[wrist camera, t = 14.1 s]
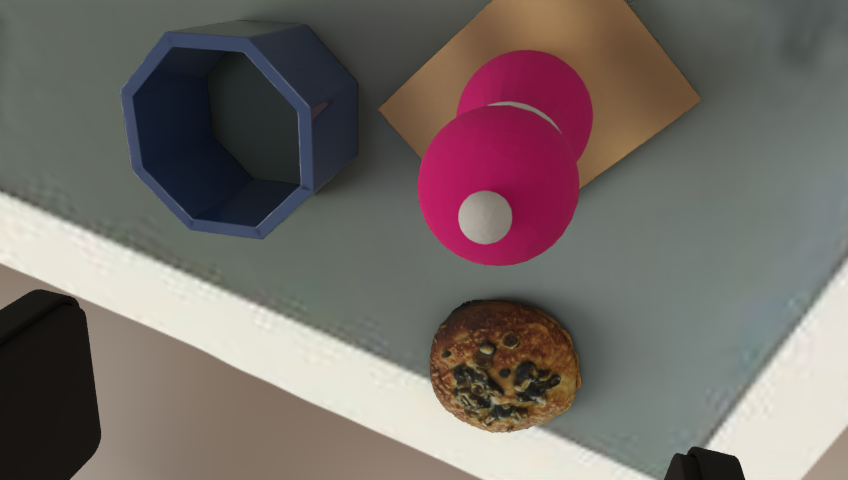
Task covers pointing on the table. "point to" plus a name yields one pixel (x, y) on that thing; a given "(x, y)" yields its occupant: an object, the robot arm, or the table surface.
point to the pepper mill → (508, 160)
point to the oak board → (572, 43)
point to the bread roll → (503, 366)
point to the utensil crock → (192, 135)
